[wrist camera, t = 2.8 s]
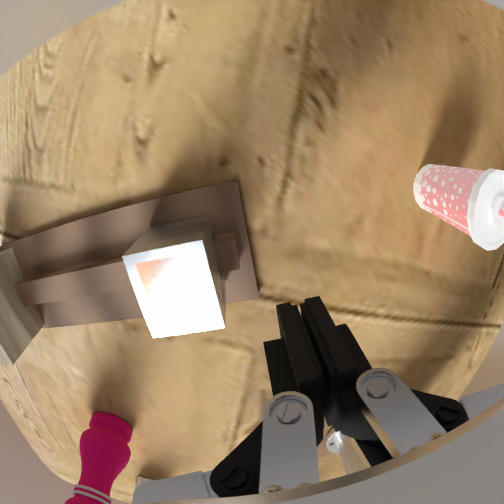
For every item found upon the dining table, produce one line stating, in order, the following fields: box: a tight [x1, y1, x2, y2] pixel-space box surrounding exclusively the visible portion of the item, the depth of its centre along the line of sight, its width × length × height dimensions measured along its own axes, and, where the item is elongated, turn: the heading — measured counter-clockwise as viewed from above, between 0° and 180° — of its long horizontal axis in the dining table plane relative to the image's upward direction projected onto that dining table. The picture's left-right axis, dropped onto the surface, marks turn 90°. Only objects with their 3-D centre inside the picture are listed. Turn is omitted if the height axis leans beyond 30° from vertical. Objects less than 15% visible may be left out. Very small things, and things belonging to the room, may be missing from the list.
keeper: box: [122, 214, 226, 338], centre depth 20 cm, size 5×6×6 cm
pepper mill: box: [65, 412, 132, 504], centre depth 23 cm, size 7×7×20 cm
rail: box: [0, 180, 259, 365], centre depth 20 cm, size 26×10×8 cm, turn 100°
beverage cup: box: [414, 164, 504, 251], centre depth 17 cm, size 6×6×14 cm
